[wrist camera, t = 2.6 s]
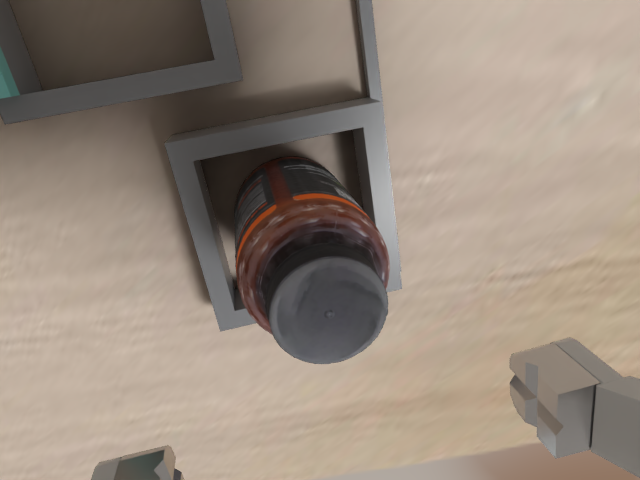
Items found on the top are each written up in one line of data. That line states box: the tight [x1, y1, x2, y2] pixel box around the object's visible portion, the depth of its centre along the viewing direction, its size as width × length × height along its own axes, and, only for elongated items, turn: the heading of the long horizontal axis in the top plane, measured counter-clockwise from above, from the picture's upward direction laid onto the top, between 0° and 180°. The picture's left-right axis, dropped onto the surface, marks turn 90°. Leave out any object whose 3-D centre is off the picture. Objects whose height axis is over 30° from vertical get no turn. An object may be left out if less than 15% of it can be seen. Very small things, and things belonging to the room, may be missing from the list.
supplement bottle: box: [234, 157, 390, 364], centre depth 20 cm, size 6×6×11 cm
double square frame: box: [0, 0, 402, 331], centre depth 21 cm, size 17×22×3 cm
